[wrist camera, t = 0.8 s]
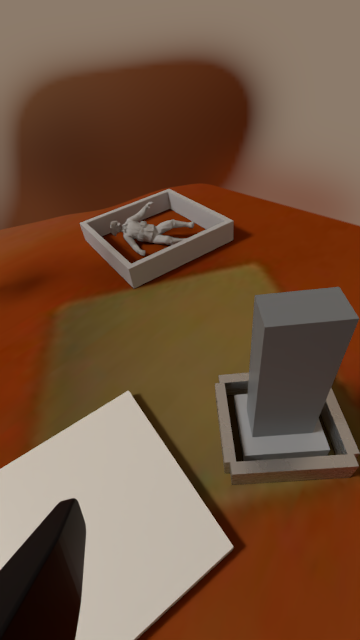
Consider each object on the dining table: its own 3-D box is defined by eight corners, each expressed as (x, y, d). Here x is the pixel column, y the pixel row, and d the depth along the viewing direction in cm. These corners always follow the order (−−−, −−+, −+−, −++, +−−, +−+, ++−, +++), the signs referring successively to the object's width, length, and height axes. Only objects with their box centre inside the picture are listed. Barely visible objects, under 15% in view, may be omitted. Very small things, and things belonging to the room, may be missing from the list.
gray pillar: (326, 456, 23) (390, 337, 14) (243, 462, 23) (253, 349, 14) (305, 396, 26) (344, 270, 17) (233, 402, 27) (236, 282, 18)
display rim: (233, 240, 45) (233, 220, 43) (133, 288, 40) (128, 269, 37) (171, 205, 56) (169, 188, 54) (85, 240, 50) (79, 223, 48)
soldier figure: (188, 263, 44) (102, 246, 43) (183, 268, 49) (106, 253, 48) (197, 209, 44) (112, 190, 43) (191, 219, 49) (115, 203, 48)
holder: (356, 477, 22) (365, 465, 20) (226, 485, 22) (225, 474, 21) (317, 380, 27) (322, 366, 26) (214, 388, 28) (213, 375, 26)
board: (233, 549, 19) (233, 546, 19) (-38, 801, 14) (-49, 808, 13) (130, 395, 28) (128, 390, 28) (-60, 513, 23) (-67, 510, 22)
